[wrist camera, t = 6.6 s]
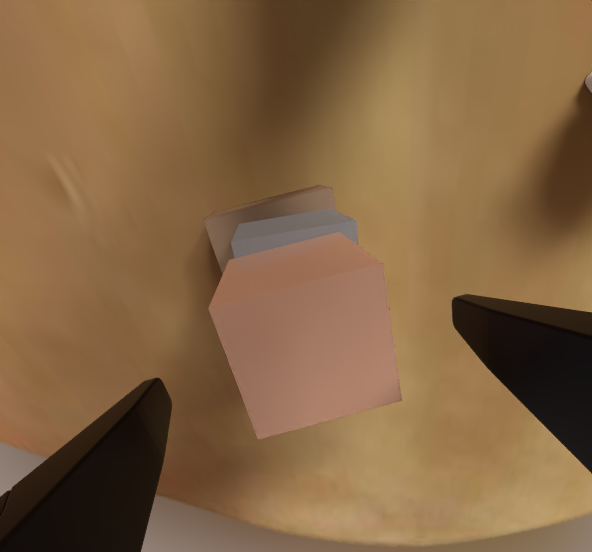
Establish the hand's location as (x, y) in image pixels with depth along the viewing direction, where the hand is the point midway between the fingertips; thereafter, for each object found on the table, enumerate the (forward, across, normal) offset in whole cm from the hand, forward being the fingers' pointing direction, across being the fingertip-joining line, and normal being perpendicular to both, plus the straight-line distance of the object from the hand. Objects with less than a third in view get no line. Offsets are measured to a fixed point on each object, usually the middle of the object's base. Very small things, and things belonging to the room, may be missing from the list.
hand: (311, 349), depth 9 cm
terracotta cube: (+4, 0, 0) cm, 4 cm away
